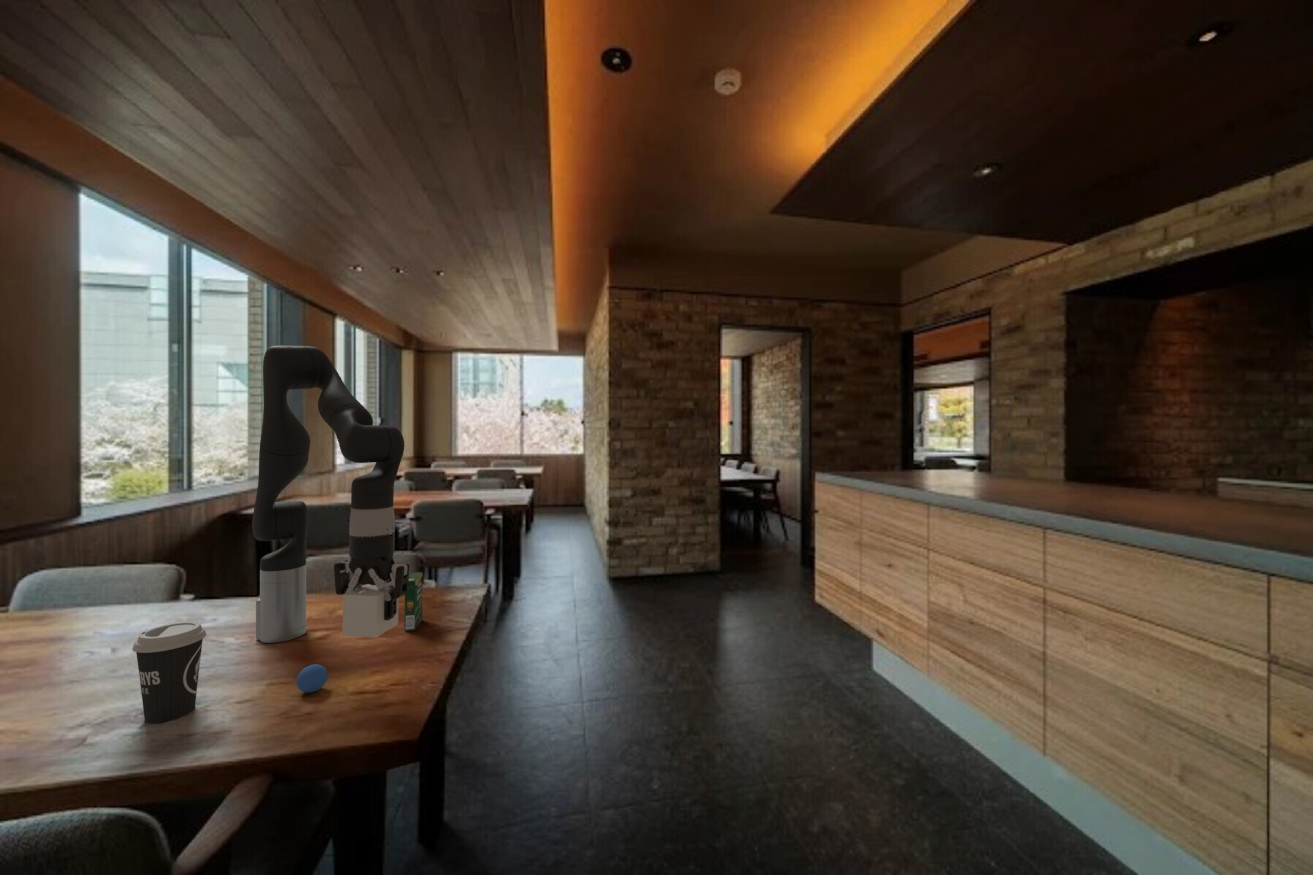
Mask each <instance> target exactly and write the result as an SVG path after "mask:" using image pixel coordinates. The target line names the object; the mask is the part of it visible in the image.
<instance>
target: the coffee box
mask: <svg viewBox="0 0 1313 875" xmlns="http://www.w3.org/2000/svg"><path fill="white" fill-rule="evenodd" d="M422 620H423V572H418V571H415V572H411V574H409V581H408V592H407V594H405V595H404V632H415V631H416V630H417V629H418V627H419V626H420V623H422ZM414 630H415V631H414Z"/></svg>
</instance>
